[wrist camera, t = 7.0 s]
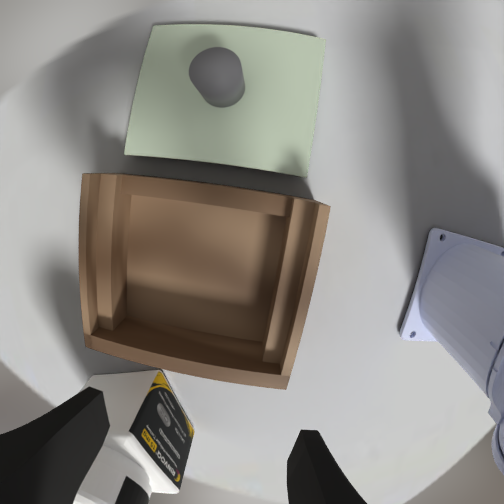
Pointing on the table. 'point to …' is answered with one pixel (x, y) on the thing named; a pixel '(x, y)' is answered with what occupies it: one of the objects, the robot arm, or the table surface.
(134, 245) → the walnut box
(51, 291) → the table surface
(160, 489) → the medicine bottle
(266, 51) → the cover plate
